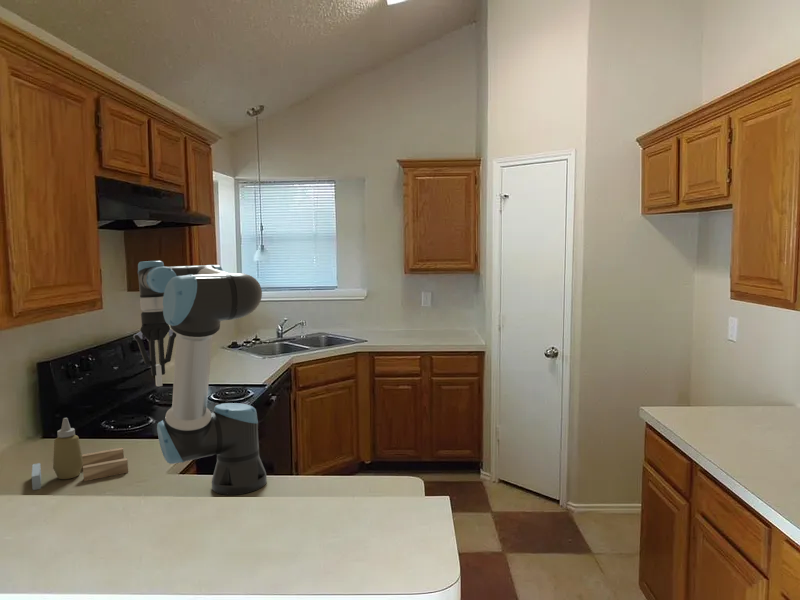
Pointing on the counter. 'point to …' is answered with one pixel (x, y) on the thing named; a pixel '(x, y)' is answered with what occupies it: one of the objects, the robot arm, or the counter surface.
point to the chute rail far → (102, 456)
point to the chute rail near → (105, 469)
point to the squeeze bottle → (67, 452)
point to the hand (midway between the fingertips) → (159, 385)
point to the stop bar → (36, 476)
